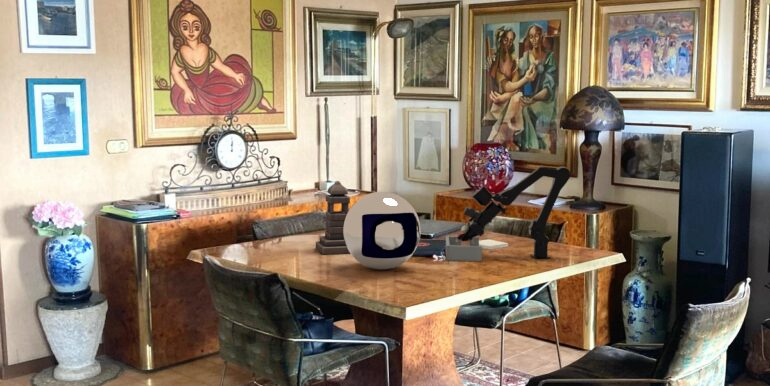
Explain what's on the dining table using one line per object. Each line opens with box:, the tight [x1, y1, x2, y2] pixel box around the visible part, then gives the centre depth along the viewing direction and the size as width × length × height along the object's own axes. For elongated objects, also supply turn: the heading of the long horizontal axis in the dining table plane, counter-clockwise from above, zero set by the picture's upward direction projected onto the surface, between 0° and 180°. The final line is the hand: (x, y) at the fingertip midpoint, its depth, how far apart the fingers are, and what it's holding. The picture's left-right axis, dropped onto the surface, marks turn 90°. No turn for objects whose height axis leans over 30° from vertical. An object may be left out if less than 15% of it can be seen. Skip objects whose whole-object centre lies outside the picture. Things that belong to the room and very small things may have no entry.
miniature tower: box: [315, 180, 351, 256], centre depth 379 cm, size 16×15×30 cm
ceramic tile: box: [479, 239, 509, 250], centre depth 396 cm, size 12×12×2 cm
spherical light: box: [343, 191, 422, 271], centre depth 344 cm, size 30×29×30 cm
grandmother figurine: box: [456, 224, 474, 246], centre depth 374 cm, size 8×4×13 cm, turn 84°
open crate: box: [445, 235, 483, 262], centre depth 374 cm, size 14×23×6 cm, turn 177°
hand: (461, 239), depth 373 cm, fingers closed on grandmother figurine, 2 cm apart
